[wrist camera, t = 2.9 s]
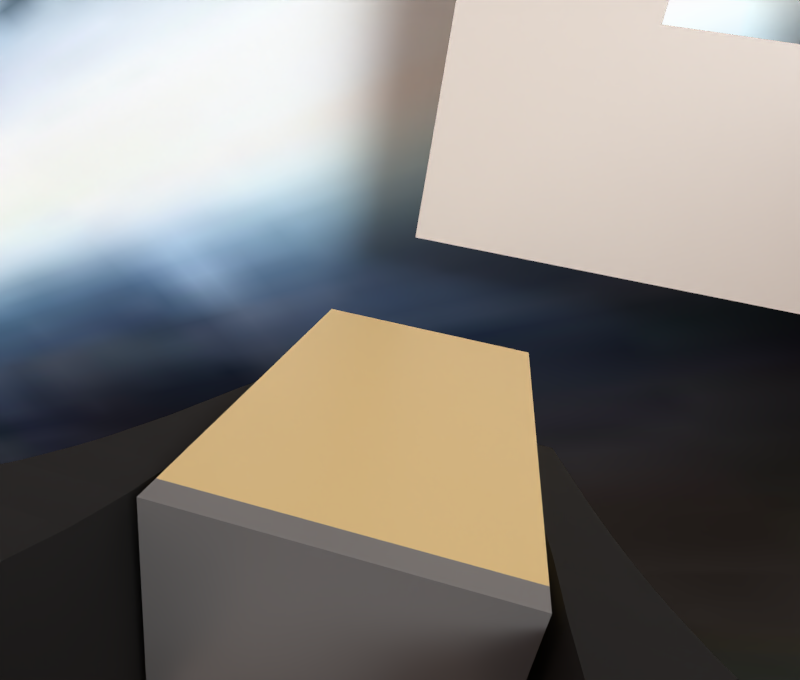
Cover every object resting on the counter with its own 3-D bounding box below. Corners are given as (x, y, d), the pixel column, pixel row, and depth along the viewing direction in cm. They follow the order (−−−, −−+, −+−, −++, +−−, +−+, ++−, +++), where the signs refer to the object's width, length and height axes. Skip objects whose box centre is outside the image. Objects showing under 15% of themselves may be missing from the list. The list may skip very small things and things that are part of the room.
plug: (528, 352, 10) (551, 613, 5) (483, 513, 12) (459, 852, 6) (331, 309, 10) (137, 497, 5) (313, 468, 12) (149, 746, 7)
